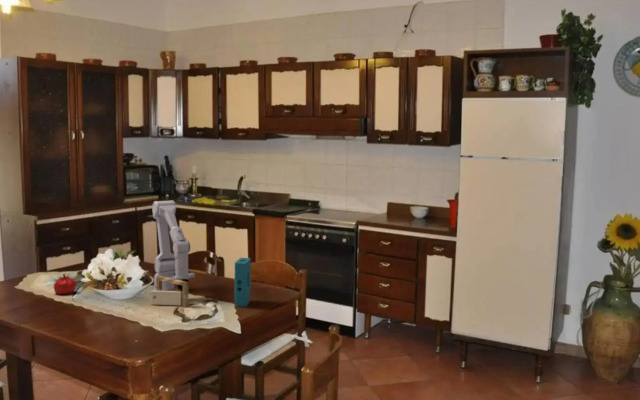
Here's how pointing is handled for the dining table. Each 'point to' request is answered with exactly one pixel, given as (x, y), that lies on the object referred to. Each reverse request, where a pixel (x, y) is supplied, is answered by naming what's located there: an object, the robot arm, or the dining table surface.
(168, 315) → the dining table surface
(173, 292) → the door
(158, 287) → the door frame
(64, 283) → the pomegranate
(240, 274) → the block
